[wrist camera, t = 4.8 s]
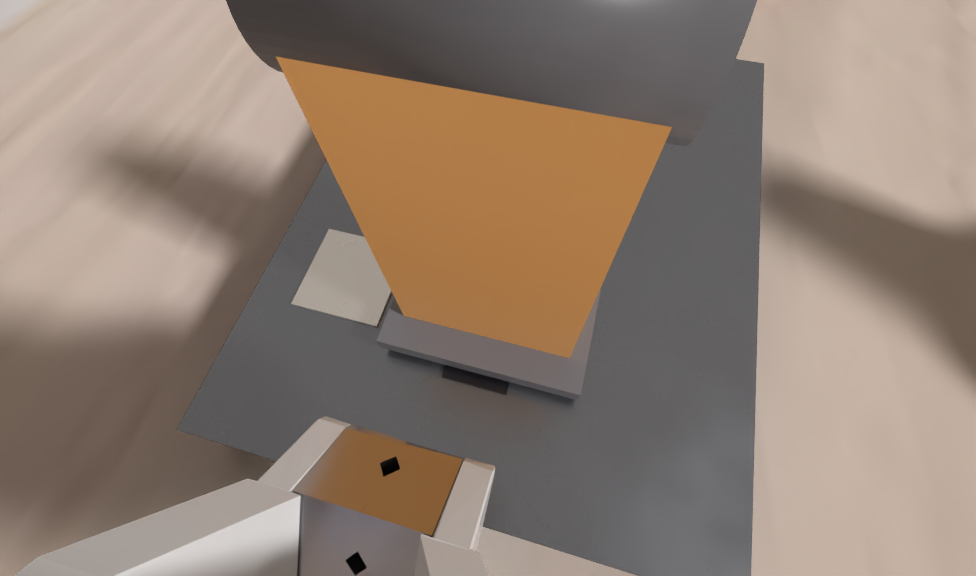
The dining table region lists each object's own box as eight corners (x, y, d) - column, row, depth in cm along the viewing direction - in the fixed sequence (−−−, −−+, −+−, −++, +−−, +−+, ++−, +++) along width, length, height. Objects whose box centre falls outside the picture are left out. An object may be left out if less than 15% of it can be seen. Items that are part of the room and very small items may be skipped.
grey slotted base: (701, 591, 14) (752, 611, 11) (231, 443, 16) (174, 429, 13) (732, 118, 22) (765, 60, 19) (420, 64, 24) (409, 5, 22)
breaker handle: (577, 400, 13) (809, 59, 3) (380, 347, 14) (93, -50, 4) (602, 268, 15) (799, -203, 5) (427, 229, 16) (308, -240, 6)
